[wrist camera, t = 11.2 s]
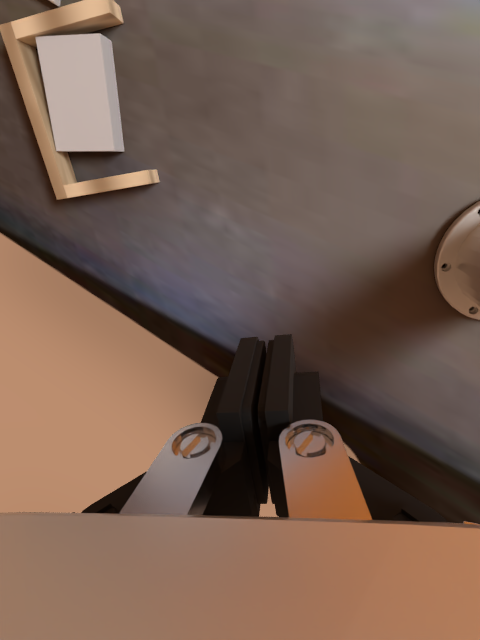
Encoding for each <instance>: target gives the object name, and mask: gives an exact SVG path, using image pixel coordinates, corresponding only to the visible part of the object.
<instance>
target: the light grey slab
mask: <svg viewBox="0 0 480 640" xmlns="http://www.w3.org/2000/svg"><path fill="white" fill-rule="evenodd" d="M35 38H36V43H37V49H38V54H39V60H40V65H41V71H42V76H43V81H44V87H45V92H46V98H47V103H48V108H49V114H50V119H51V125H52V130H53V135H54V141H55V146H56V151H62V152H124V144H123V135H122V127H121V118H120V109H119V101H118V92H117V84H116V75H115V66H114V58H113V49H112V41H111V40H109V39H108V38H106V37H105V36H103V35H102V34H100V33H97V34H77V35H58V36H38V37H35Z"/></svg>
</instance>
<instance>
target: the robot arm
mask: <svg viewBox="0 0 480 640" xmlns="http://www.w3.org/2000/svg"><path fill="white" fill-rule="evenodd" d="M479 209H480V201H478V202H477V203H475V204H474V205H472V206H471V207H470V208H468V209H467V210H465V211H464V212H463V213H462V214H461V215H460V216H459V217H458V218H457V219H456V220H455V221H454V222H453V223H452V224H451V226H450V227H449V228H448V230H447V231H446V232H445V234H444V236H443V238H442V240H441V242H440V244H439V246H438V249H437V253H436V256H435V264H434V273H435V281H436V283H437V286H438V289H439V291H440V293H441V294H442V296H443V297H444V299H445V300H446V301H447V302H448V303H449V304H450V305H451V306H452V307H453V308H455V309H456V310H457V311H459V312H460V313H462V314H464V315H466V316H468V317H470V318H473V319H477V320H480V213H479V214H478V210H479ZM444 263H445V266H444V267H442V265H443V264H444ZM471 307H472V308H471ZM470 308H471V309H470ZM268 488H270V494H271V500H272V503H273V504H275V509H276V514H277V515H278V516H279V517H259V511H260V504H266V503H267V499H268ZM0 640H480V524H475V523H470V522H465V521H464V524H462V523H448V522H447V521H446V519H445V518H443V517H442V516H441V515H440V514H438V513H437V512H436V511H435V510H433V509H431V508H430V507H428V506H427V505H425V504H424V503H422V502H420V501H419V500H417V499H416V498H414V497H412V496H411V495H409V494H408V493H406V492H404V491H403V490H401V489H400V488H398V487H396V486H395V485H393V484H392V483H390V482H389V481H387V480H385V479H384V478H382V477H381V476H379V475H377V474H376V473H374V472H373V471H371V470H369V469H368V468H366V467H365V466H363V465H362V464H360V463H358V462H357V461H355V460H354V459H352V458H350V457H349V456H348V455H347V452H346V449H345V447H344V444H343V441H342V439H341V436H340V434H339V433H338V431H337V430H336V429H335V428H334V427H333V426H331V425H330V424H328V423H325V422H323V415H322V405H321V395H320V384H319V374H318V372H304V373H296V366H295V357H294V348H293V339H292V334H290V335H277V336H275V338H274V340H269V342H268V348H267V353H266V347H265V342H264V341H259V339H258V337H251V338H241V340H240V343H239V346H238V349H237V352H236V355H235V358H234V361H233V364H232V367H231V370H230V373H229V376H228V377H219V378H218V379H217V381H216V384H215V386H214V389H213V392H212V394H211V397H210V400H209V402H208V405H207V408H206V410H205V413H204V415H203V418H202V421H201V423H195V424H191V425H188V426H185V427H183V428H181V429H180V430H178V431H177V432H175V433H174V434H173V435H172V436H171V437H170V438H169V440H168V441H167V442H166V444H165V446H164V447H163V448H162V450H161V452H160V453H159V455H158V456H157V457H156V459H155V460H154V462H153V463H152V465H151V466H150V468H149V469H148V471H147V472H145V473H143V474H142V475H140V476H138V477H137V478H135V479H133V480H132V481H130V482H128V483H127V484H125V485H123V486H122V487H120V488H118V489H117V490H115V491H113V492H112V493H110V494H108V495H107V496H105V497H103V498H102V499H100V500H98V501H97V502H95V503H93V504H92V505H90V506H89V507H87V508H86V509H85V510H83V511H82V513H75V512H73V513H41V512H39V513H38V512H22V513H21V512H17V513H0Z"/></svg>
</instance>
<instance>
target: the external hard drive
mask: <svg viewBox="0 0 480 640" xmlns="http://www.w3.org/2000/svg"><path fill="white" fill-rule="evenodd" d="M49 1H50V2H52V3H53V4H55V5H57V6H58V7H59V6H60V2H61V0H49Z"/></svg>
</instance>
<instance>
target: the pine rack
mask: <svg viewBox="0 0 480 640" xmlns="http://www.w3.org/2000/svg"><path fill="white" fill-rule="evenodd" d="M120 24H123V18H122V14H121V9H120V6H119V5H118V4H117V3H115V2H114V1H113V0H83V1H80V2H77V3H73V4H70V5H66V6H63V7H60V8H56V9H53V10H49V11H46V12H43V13H39V14H36V15H32V16H29V17H26V18H22V19H19V20H16V21H12V22H9V23H5V24H2V25H0V31H1V34H2V37H3V40H4V43H5V46H6V49H7V52H8V55H9V58H10V61H11V64H12V67H13V70H14V73H15V76H16V79H17V82H18V85H19V88H20V91H21V94H22V97H23V100H24V103H25V106H26V109H27V112H28V115H29V118H30V121H31V124H32V127H33V130H34V133H35V136H36V139H37V142H38V145H39V148H40V151H41V154H42V156H43V159H44V162H45V165H46V168H47V171H48V174H49V177H50V180H51V183H52V186H53V189H54V192H55V195H56V198H57V200H59V199H65V198H72V197H78V196H84V195H89V194H95V193H101V192H107V191H112V190H118V189H124V188H130V187H135V186H141V185H147V184H153V183H158V182H160V181H159V177H158V172H157V170H145V171H139V172H134V173H128V174H123V175H117V176H112V177H106V178H101V179H95V180H90V181H84V182H79V183H77V181H76V178H75V174H74V171H73V168H72V165H71V161H70V158H69V155H68V152H62V151H56V146H55V141H54V135H53V130H52V125H51V119H50V114H49V108H48V103H47V98H46V92H45V87H44V81H43V76H42V71H41V65H40V61H39V58H38V55H37V51H36V47H37V43H36V38H35V37H38V36H58V35H77V34H87V33H90V32H94V31H98V30H101V29H105V28H109V27H112V26H116V25H120Z"/></svg>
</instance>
